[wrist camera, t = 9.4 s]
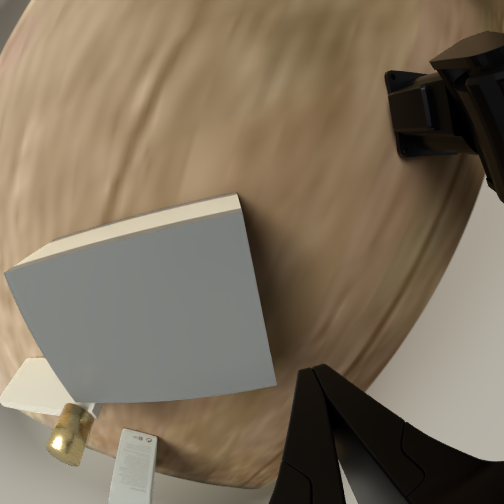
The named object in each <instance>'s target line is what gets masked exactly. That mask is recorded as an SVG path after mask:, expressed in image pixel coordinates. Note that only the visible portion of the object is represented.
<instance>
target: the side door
mask: <svg viewBox="0 0 504 504" xmlns="http://www.w3.org/2000/svg"><path fill="white" fill-rule="evenodd" d="M0 403H1V404H2V405H3V406H5V407H10V408H14V409H19V410H25V411H30V412H37V413H43V414H50V415H58V416H59V418H58V420H57V423H56V425H55V427H54V429H53V432H52V434H51V436H50V438H49V441H48V443H47V446H46V449H47V451H48V452H49V453H50V454H51V455H52V456H53V457H55V458H56V459H58V460H60V461H61V462H63V463H66V464H68V465H71V466H79V464H80V461H81V458H82V455H83V452H84V449H85V446H86V443H87V440H88V437H89V434H90V431H91V428H92V426H93V423H94V419H98V416H99V414H100V411H101V408H102V405H103V403H83V402H75V401H74V400H73V399H72V397H71V396H70V394H69V393H68V392H67V390H66V389H65V387H64V386H63V385H62V383H61V382H60V380H59V379H58V377H57V376H56V374H55V373H54V371H53V370H52V368H51V366H50V365H49V363H48V362H47V360H46V358H27V359H26V360H25V362H24V363H23V364H22V366H21V367H20V368H19V370H18V371H17V373H16V374H15V376H14V377H13V378H12V380H11V381H10V383H9V384H8V386H7V387H6V389H5V390H4V392H3V393H2V395H1V396H0Z"/></svg>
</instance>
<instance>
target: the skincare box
mask: <svg viewBox="0 0 504 504" xmlns="http://www.w3.org/2000/svg"><path fill="white" fill-rule="evenodd" d="M156 453H157V437H156V436H153V435H149V434H146V433H142V432H138V431H134V430H130V429H126V428H124V429H123V430H122V434H121V438H120V443H119V447H118V452H117V457H116V462H115V467H114V472H113V477H112V482H111V488H110V495H109V501H108V504H152V496H153V483H154V482H153V481H154V473H155V464H156Z"/></svg>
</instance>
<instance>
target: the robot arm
mask: <svg viewBox="0 0 504 504" xmlns="http://www.w3.org/2000/svg"><path fill="white" fill-rule="evenodd" d="M429 62H430V63H431V65H432V67H433V68H434V70H437V73H433V74H429V75H427V74H420V73H413V72H404V71H393V70H391V71H387V72H386V73H385V81H386V86H387V90H388V95H389V96H388V99H389V104H390V110H391V115H392V121H393V128H394V130H395V136H396V143H397V151H398V154H399V155H400V156H401V157H416V156H432V155H453V154H458V153H466V154H474V155H479V157H480V159H481V162H482V165H483V167H484V170H485V173H486V176H487V178H486V180H487V183H488V186H489V187H490V188H491V189H493V190H494V191H495V192H496V193H497V195H498V197H499V199H500V200H501V201H502V202H503V203H504V33H498V32H490V31H485V32H482V33H479V34H476V35H473V36H471V37H468V38H465V39H463V40H461V41H459V42H458V43H456V44H455V45H453V46H452V47H450V48H449V49H447V50H445V51H444V52H442V53H441V54H439V55H438V56H437V57H435V58H434V59H432V60H431V61H429ZM390 75H392V77H393V80H392V79H391V77H390ZM403 148H405V153H404V152H403ZM338 460H339V462H340V464H341V466H342V469H343V471H344V473H345V475H346V478H347V480H348V482H349V484H350V486H351V489H352V491H353V493H354V496H355V497H356V500H357V502H358V504H504V461H497V462H496V461H486V460H481V459H478V458H476V457H473V456H471V455H468V454H466V453H463V452H461V451H459V450H457V449H455V448H452V447H450V446H448V445H446V444H444V443H442V442H440V441H437V440H436V439H434V438H432V437H430V436H428V435H426V434H425V433H423V432H422V431H420V430H418V429H417V428H415V427H413V426H412V425H411V424H409V423H408V422H405V421H404V420H403V419H402V418H400V417H399V416H397V415H396V414H394V413H393V412H392V411H390V410H389V409H387V408H386V407H384V406H383V405H381V404H380V403H379V402H377V401H376V400H374V399H373V398H372V397H370V396H369V395H367V394H366V393H365V392H363V391H362V390H360V389H359V388H358V387H356V386H355V385H354V384H352V383H351V382H349V381H348V380H347V379H345V378H344V377H343V376H341V375H340V374H339V373H337V372H336V371H335V370H333V369H332V368H331V367H329V366H328V365H326V364H321V365H317V366H314V367H313V368H305V369H301V370H299V371H298V375H297V381H296V387H295V393H294V399H293V405H292V411H291V416H290V422H289V427H288V432H287V437H286V442H285V447H284V452H283V457H282V462H281V465H280V470H279V474H278V478H277V481H276V485H275V488H274V491H273V494H272V496H271V499H270V501H269V504H346V501H345V495H344V489H343V484H342V478H341V473H340V468H339V462H338Z"/></svg>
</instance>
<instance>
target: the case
mask: <svg viewBox="0 0 504 504" xmlns="http://www.w3.org/2000/svg"><path fill="white" fill-rule="evenodd" d="M4 275H5V278H6V280H7V283H8V285H9V288H10V290H11V293H12V295H13V297H14V299H15V302H16V304H17V306H18V308H19V310H20V312H21V314H22V316H23V318H24V320H25V322H26V324H27V326H28V328H29V330H30V332H31V334H32V336H33V338H34V339H35V341H36V343H37V345H38V347H39V348H40V350H41V352H42V353H43V355H44V357H45V358H46V360H47V362H48V363H49V365H50V366H51V368H52V370H53V371H54V373H55V374H56V376H57V377H58V379H59V380H60V382H61V383H62V385H63V386H64V387H65V389H66V390H67V392H68V393H69V394H70V396H71V397H72V399H73V400H74V401H75V402H83V403H140V402H159V401H173V400H184V399H194V398H203V397H211V396H218V395H225V394H232V393H238V392H244V391H250V390H255V389H260V388H266V387H270V386H275V385H277V383H276V378H275V373H274V368H273V363H272V358H271V353H270V348H269V343H268V338H267V333H266V328H265V323H264V319H263V314H262V309H261V304H260V299H259V294H258V289H257V284H256V279H255V274H254V268H253V263H252V258H251V253H250V248H249V243H248V238H247V233H246V228H245V223H244V218H243V213H242V210H241V206H240V203H239V199H238V196H237V192H235V193H230V194H225V195H221V196H216V197H211V198H207V199H202V200H198V201H193V202H189V203H185V204H180V205H176V206H172V207H168V208H164V209H160V210H156V211H152V212H148V213H144V214H140V215H136V216H133V217H129V218H125V219H121V220H118V221H114V222H111V223H107V224H104V225H100V226H97V227H93V228H90V229H87V230H83V231H80V232H77V233H73V234H70V235H67V236H64V237H61V238H58V239H55V240H53V241H51V242H50V243H48V244H47V245H45V246H43V247H42V248H40V249H39V250H37V251H36V252H34V253H33V254H31V255H30V256H28V257H27V258H25V259H24V260H22V261H21V262H19V263H18V264H16V265H15V266H13V267H12V268H10V269H9V270H8V271H6V272H5V273H4Z"/></svg>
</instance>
